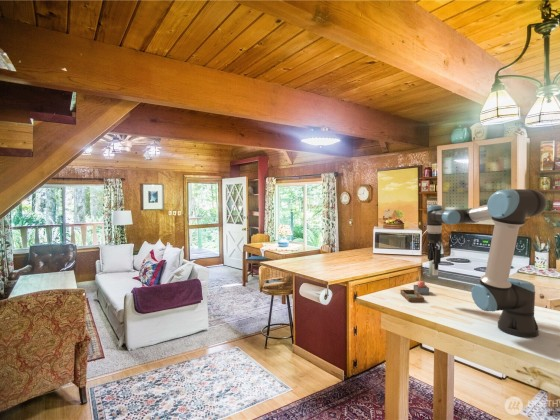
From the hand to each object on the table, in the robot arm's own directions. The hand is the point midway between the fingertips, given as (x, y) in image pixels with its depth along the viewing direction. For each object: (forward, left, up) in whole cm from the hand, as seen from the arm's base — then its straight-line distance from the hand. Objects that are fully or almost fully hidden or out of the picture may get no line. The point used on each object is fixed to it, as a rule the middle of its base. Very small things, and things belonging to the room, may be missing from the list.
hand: (433, 273), depth 186 cm
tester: (+20, 0, -17) cm, 26 cm away
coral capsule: (+20, 0, -16) cm, 25 cm away
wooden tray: (+10, +9, -17) cm, 21 cm away
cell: (0, 0, -3) cm, 3 cm away
